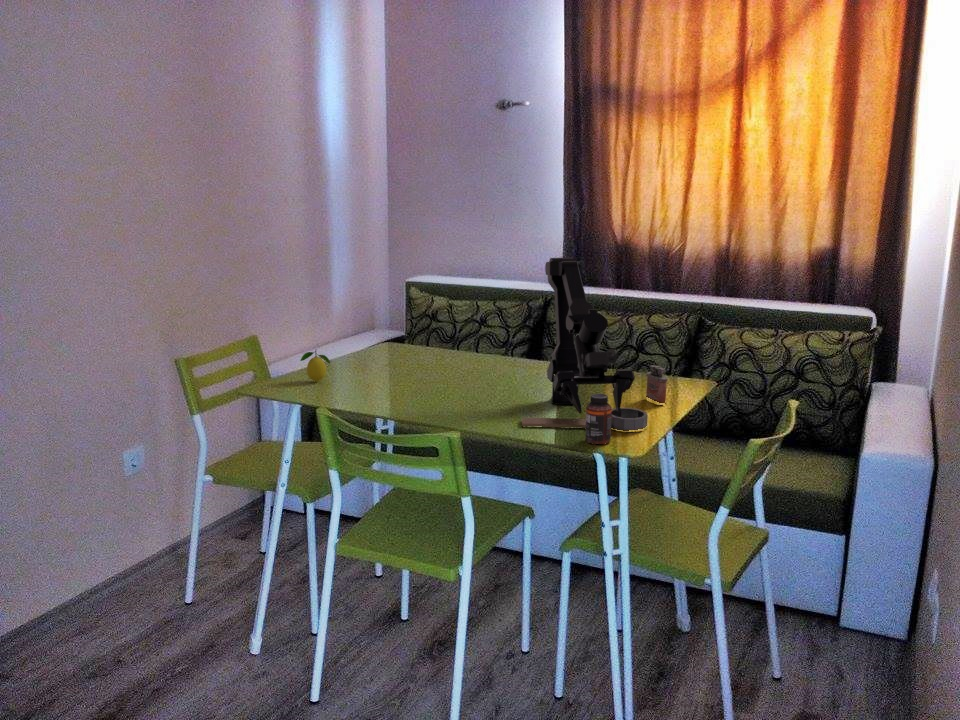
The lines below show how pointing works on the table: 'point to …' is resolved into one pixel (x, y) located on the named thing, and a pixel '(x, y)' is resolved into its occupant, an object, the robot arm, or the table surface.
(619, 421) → the cup bracket
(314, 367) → the lemon
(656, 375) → the lighter
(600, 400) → the supplement bottle
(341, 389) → the table surface
